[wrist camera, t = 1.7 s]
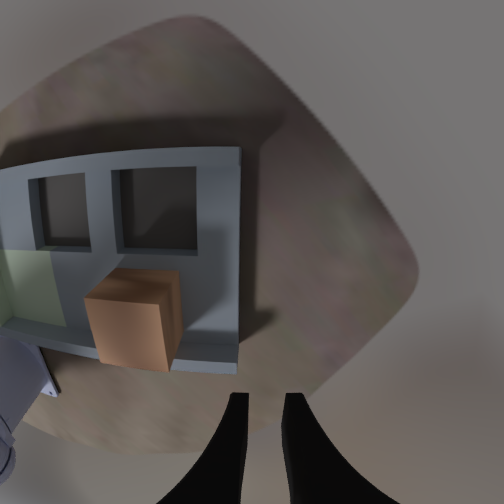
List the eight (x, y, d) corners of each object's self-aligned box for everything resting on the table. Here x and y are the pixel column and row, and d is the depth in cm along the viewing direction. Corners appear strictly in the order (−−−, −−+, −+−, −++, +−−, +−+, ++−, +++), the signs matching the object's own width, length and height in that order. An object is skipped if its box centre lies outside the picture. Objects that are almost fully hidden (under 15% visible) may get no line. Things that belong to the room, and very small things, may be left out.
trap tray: (18, 316, 22) (-2, 334, 19) (-8, 172, 17) (-36, 178, 14) (239, 344, 22) (236, 374, 19) (241, 148, 18) (239, 146, 14)
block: (125, 325, 20) (100, 362, 16) (115, 267, 18) (83, 297, 14) (183, 330, 20) (169, 372, 16) (178, 270, 18) (159, 304, 14)
